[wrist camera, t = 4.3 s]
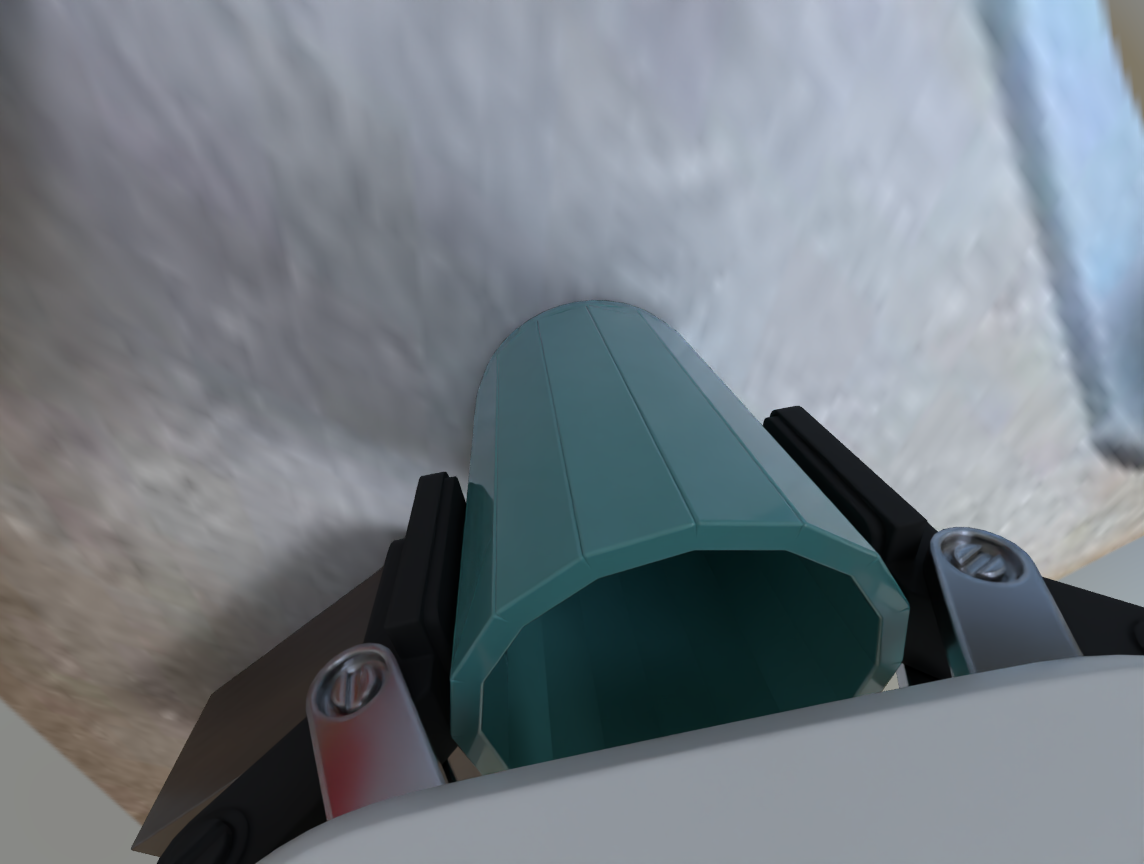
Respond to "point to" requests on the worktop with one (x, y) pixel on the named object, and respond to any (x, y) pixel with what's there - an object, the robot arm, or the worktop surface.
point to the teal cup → (645, 554)
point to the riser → (259, 717)
